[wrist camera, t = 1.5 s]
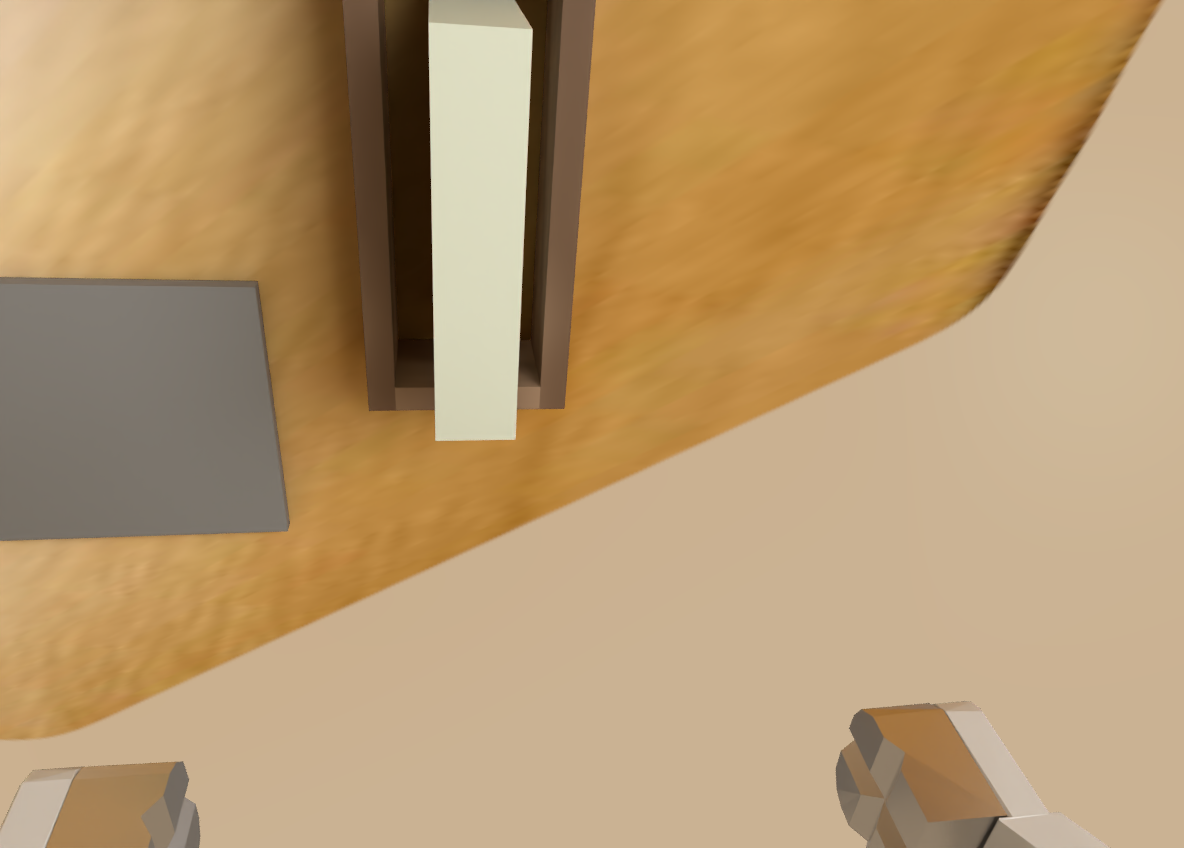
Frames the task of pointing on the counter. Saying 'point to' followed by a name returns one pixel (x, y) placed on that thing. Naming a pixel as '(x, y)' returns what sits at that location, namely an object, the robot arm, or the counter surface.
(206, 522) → the rubber mat
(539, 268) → the walnut box
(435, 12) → the cream rectangular block
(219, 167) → the counter surface
